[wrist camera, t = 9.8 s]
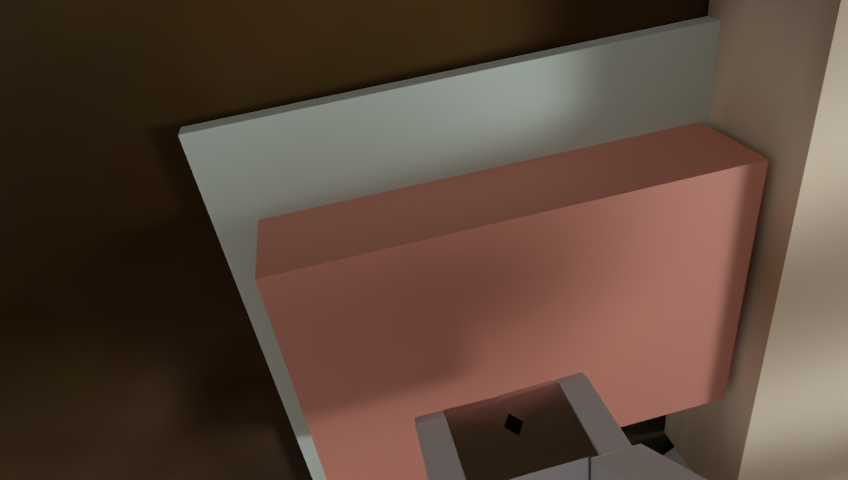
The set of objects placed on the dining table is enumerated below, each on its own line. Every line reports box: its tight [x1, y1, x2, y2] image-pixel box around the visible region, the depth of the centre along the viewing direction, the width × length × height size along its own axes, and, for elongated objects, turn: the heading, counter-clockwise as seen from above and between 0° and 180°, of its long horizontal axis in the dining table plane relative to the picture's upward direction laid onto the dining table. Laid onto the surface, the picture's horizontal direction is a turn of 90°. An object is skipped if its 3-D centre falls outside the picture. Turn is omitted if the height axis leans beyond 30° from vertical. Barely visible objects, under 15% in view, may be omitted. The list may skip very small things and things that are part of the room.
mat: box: [178, 16, 720, 480], centre depth 13 cm, size 10×10×1 cm
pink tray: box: [255, 122, 769, 480], centre depth 12 cm, size 9×6×2 cm, turn 98°
